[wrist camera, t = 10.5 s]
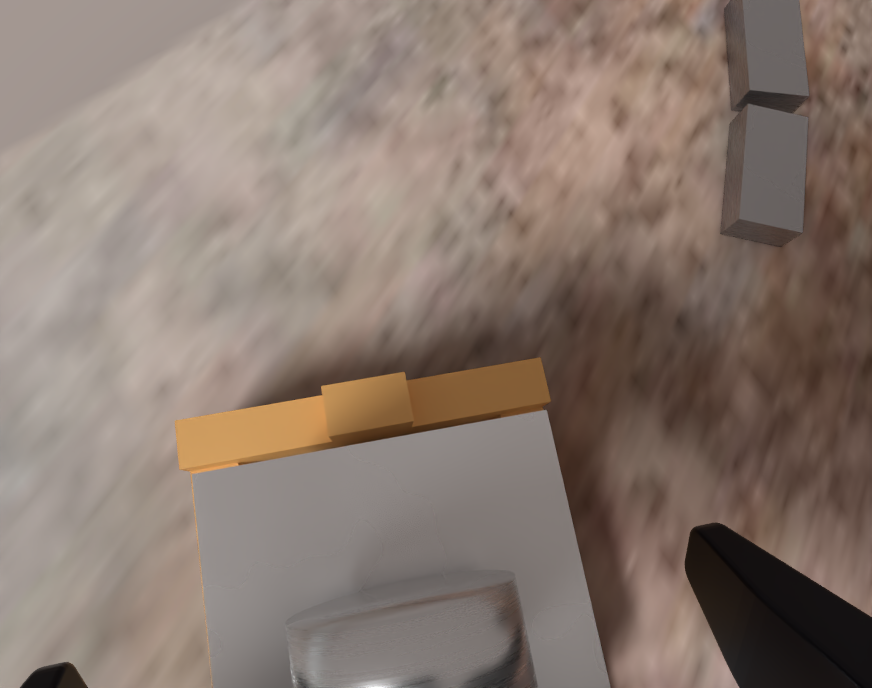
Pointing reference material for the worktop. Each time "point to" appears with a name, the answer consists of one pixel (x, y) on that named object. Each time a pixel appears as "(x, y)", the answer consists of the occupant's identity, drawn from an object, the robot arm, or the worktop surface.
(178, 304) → the worktop surface
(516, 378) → the keeper bracket
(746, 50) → the grey segmented block chain
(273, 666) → the steel link block
